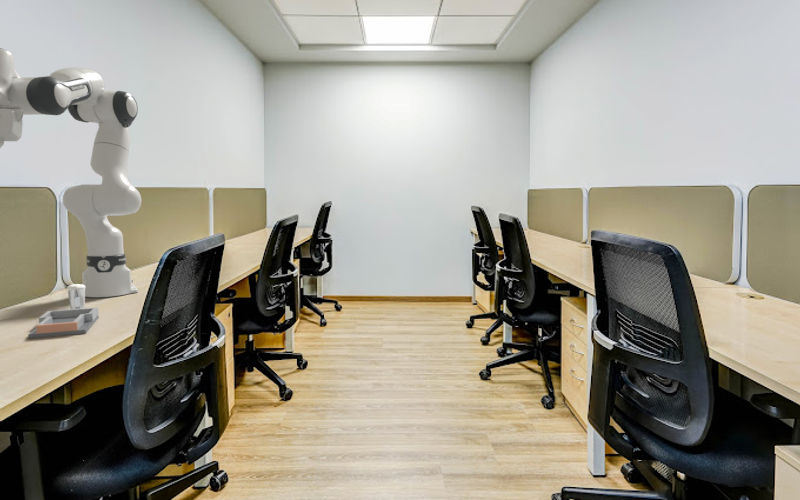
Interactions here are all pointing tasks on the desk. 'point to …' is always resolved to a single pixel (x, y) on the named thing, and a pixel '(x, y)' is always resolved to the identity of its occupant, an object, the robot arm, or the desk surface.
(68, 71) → the robot arm
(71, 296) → the milkshake
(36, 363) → the desk surface
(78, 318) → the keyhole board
